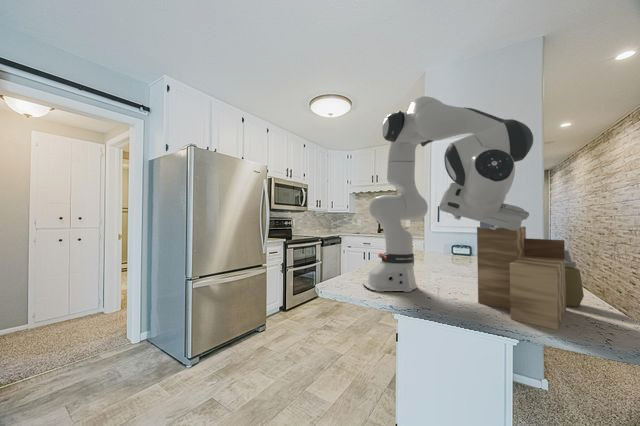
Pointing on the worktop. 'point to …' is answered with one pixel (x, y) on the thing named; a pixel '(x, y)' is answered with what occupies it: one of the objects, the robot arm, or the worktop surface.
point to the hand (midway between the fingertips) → (474, 222)
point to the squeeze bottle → (572, 283)
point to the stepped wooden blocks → (522, 275)
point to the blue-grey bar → (485, 225)
